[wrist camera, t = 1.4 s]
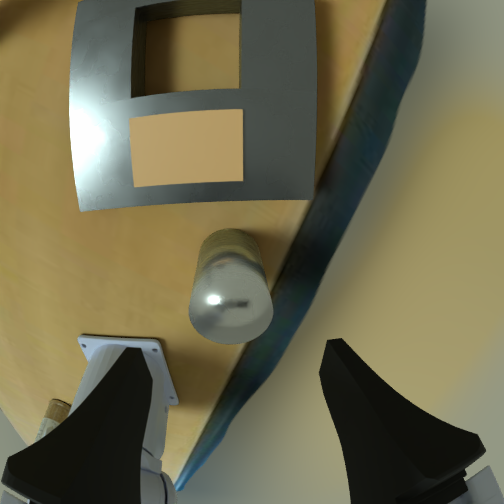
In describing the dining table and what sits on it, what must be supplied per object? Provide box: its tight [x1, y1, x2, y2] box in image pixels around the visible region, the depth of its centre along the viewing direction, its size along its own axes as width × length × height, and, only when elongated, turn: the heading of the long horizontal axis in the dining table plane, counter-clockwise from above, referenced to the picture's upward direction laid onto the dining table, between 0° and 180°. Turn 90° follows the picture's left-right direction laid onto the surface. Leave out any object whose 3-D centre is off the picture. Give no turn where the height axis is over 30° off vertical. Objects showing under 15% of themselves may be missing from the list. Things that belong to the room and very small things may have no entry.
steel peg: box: [189, 229, 273, 344], centre depth 16 cm, size 4×4×6 cm
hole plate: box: [69, 0, 317, 212], centre depth 12 cm, size 13×13×3 cm
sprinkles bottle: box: [34, 400, 71, 443], centre depth 20 cm, size 5×4×14 cm
